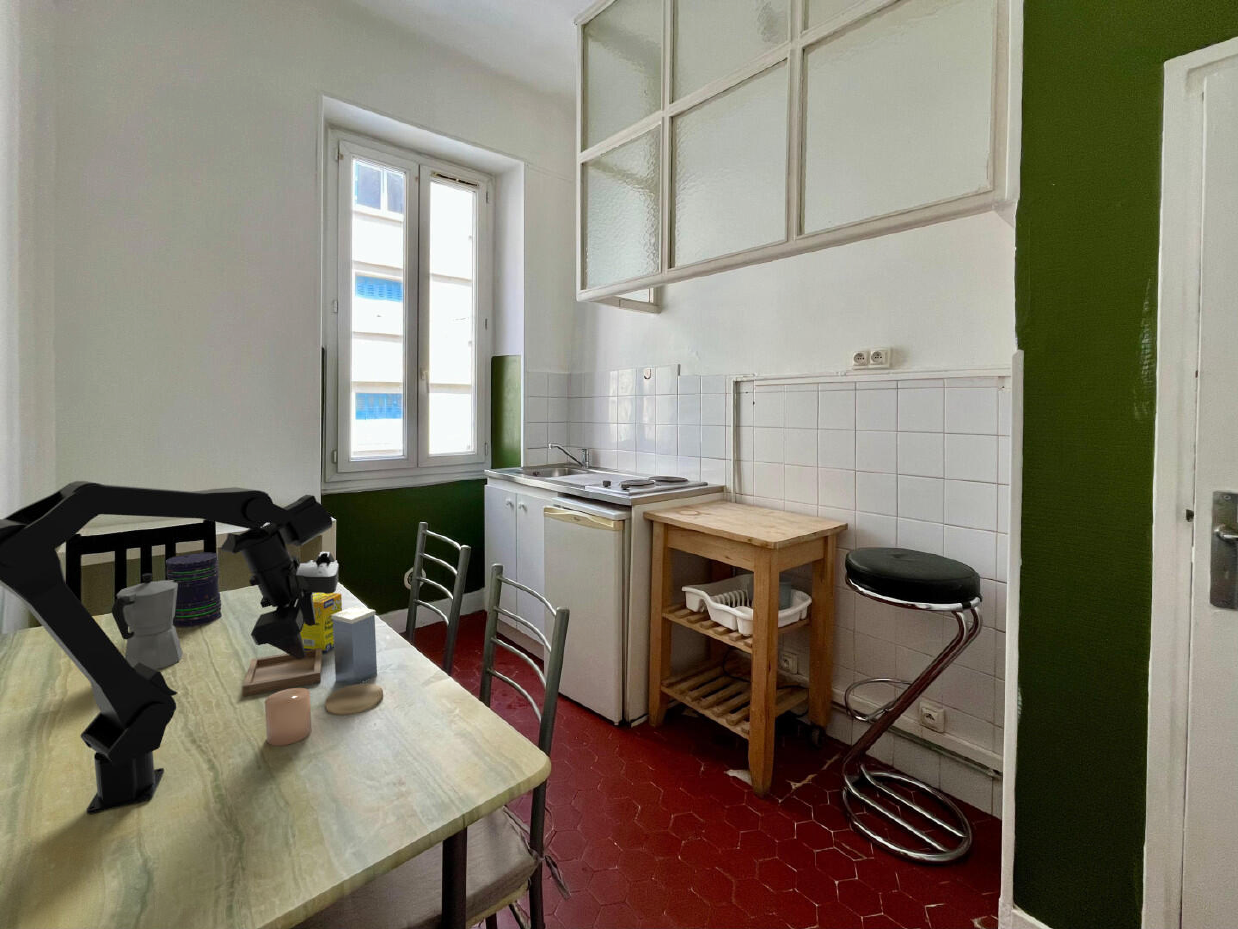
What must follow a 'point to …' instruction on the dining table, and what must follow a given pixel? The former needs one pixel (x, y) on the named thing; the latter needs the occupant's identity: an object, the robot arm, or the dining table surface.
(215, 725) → the dining table surface
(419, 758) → the dining table surface
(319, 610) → the supplement box
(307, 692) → the pink rounded cylinder
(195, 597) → the storage jar
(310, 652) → the walnut tray
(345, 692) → the cork coaster
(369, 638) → the tea tin
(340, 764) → the dining table surface
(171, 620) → the coffeepot
